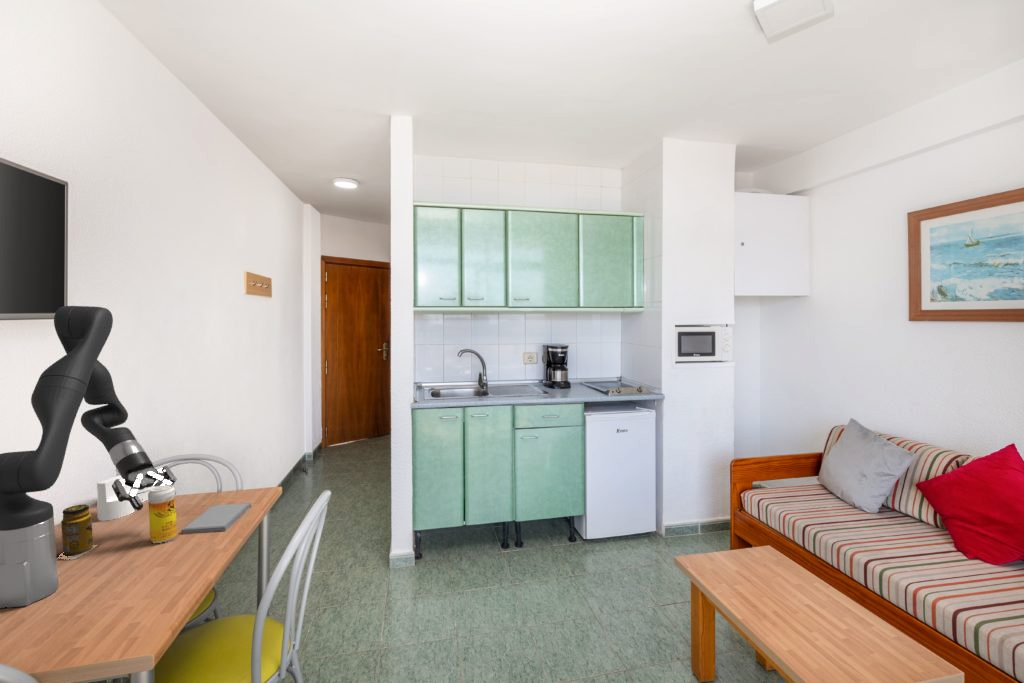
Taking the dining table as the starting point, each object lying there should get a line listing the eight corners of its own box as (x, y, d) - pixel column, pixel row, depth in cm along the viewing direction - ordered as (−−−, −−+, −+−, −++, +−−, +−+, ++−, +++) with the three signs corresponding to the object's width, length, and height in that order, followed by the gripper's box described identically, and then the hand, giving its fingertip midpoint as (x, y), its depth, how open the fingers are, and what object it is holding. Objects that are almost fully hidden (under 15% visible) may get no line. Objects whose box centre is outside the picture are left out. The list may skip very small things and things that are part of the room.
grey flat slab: (225, 530, 137) (225, 526, 137) (181, 533, 136) (181, 529, 136) (251, 506, 155) (251, 502, 155) (212, 508, 154) (212, 505, 154)
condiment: (102, 544, 130) (99, 502, 130) (74, 559, 122) (71, 515, 121) (75, 545, 130) (72, 503, 130) (46, 560, 122) (43, 516, 121)
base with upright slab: (117, 508, 155) (115, 473, 154) (141, 509, 154) (139, 474, 153) (90, 520, 146) (87, 483, 146) (115, 521, 145) (112, 484, 144)
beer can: (166, 544, 129) (163, 491, 129) (145, 544, 130) (142, 492, 129) (182, 534, 136) (179, 484, 135) (161, 534, 136) (159, 484, 135)
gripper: (106, 458, 129) (134, 504, 125) (162, 444, 142) (188, 486, 138) (96, 474, 131) (123, 520, 127) (152, 460, 144) (177, 501, 141)
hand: (157, 502), depth 133 cm, fingers open, 8 cm apart
